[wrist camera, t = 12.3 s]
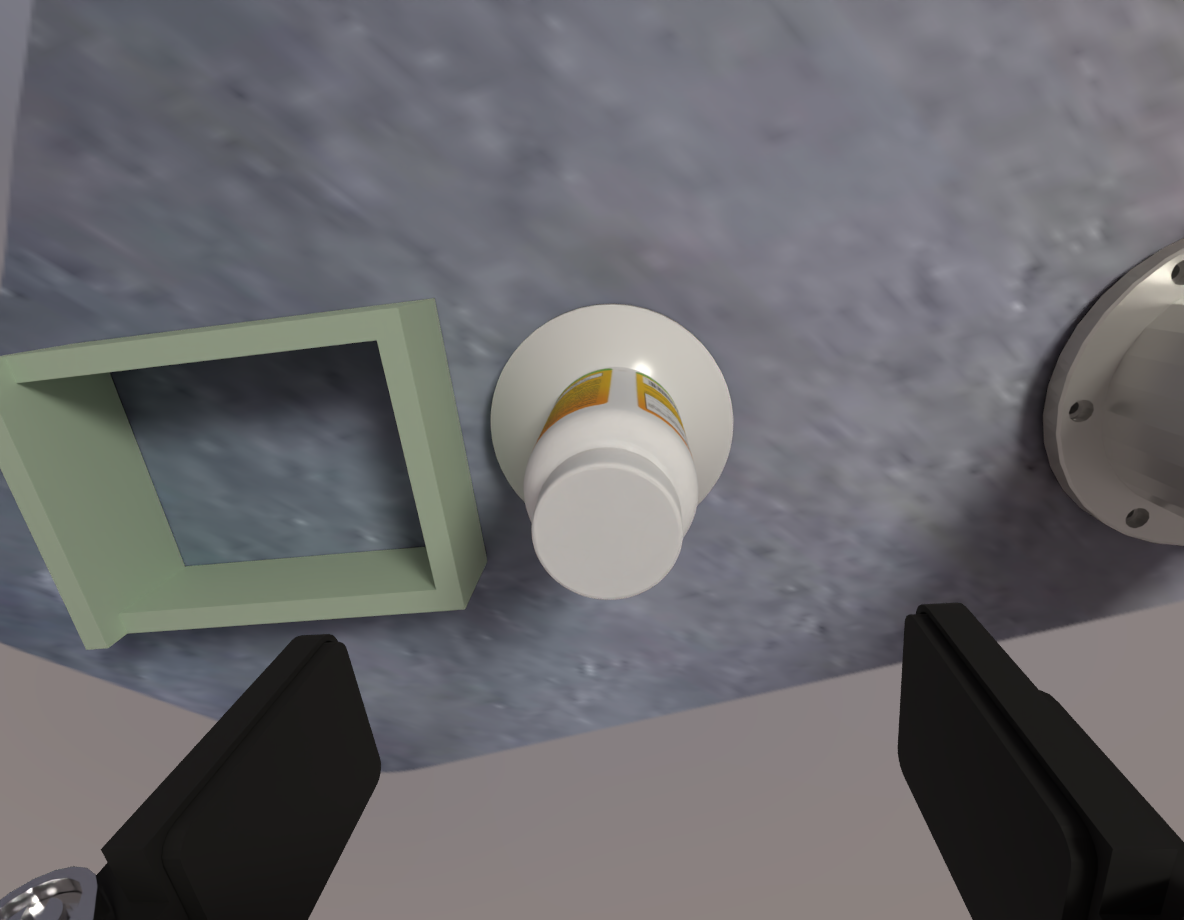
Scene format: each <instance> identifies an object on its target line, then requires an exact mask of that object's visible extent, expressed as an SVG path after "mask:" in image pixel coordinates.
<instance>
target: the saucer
mask: <svg viewBox="0 0 1184 920" xmlns="http://www.w3.org/2000/svg"><path fill="white" fill-rule="evenodd" d="M606 367H625V368H630V369H634V370H637V371H640V372H642V373H645V374H647V375H648V376H650V377H652V378H653V379H655V380H656V381H657V382H658V383H660V384H661V385H662V386H663V387H664V388H665V389H666V391H667V392H668V393H669V394H670V396H671V397H672V399H673V401H674V403H675V405H676V407H677V409H678V412H679V414H680V417H681V421H682V424H683V427H684V430H685V434H686V437H687V441H688V444H689V448H690V451H691V454H692V457H693V461H694V464H695V469H696V473H697V480H698V503H697V505H698V504H699V503H700V502H701V501H702V500H703V499H704V498H705V497H706V496H707V494H708V493H709V492H710V491H711V490H712V488H713V486H714V485H715V483H716V482H717V480H718V478H719V477H720V475H721V473H722V470H723V468H724V466H725V464H726V461H727V458H728V455H729V451H730V448H731V442H732V435H733V411H732V403H731V399H730V395H729V391H728V387H727V385H726V382H725V380H724V377H723V375H722V373H721V371H720V369H719V367H718V366H717V364H716V362H715V361H714V359H713V357H712V356H711V355H710V353H709V352H708V351H707V350H706V348H705V347H704V346H703V345H702V343H701V342H700V341H699V340H698V339H697V338H696V337H695V336H694V335H693V334H691V333H690V332H689V331H688V330H687V329H685V328H684V327H683V326H681V325H680V324H678V323H677V322H676V321H674V320H672V319H670V318H668V317H666V316H664V315H662V314H660V313H657V312H655V311H652V310H649V309H647V308H642V307H638V306H633V305H627V304H615V303H612V304H596V305H591V306H585V307H580V308H578V309H575V310H572V311H569V312H566V313H564V314H562V315H560V316H557V317H555V318H553V319H551V320H550V321H548V322H547V323H545V324H544V325H542V326H541V327H540V328H538V329H537V330H536V331H535V332H533V333H532V334H531V335H530V336H529V337H528V338H527V339H526V340H524V341H523V342H522V344H521V345H520V346H519V347H518V348H517V349H516V351H515V352H514V353H513V354H512V356H511V357H510V359H509V361H508V362H507V364H506V365H505V367H504V369H503V371H502V373H501V375H500V378H499V380H498V382H497V386H496V389H495V392H494V396H493V401H492V408H491V434H492V442H493V446H494V450H495V454H496V457H497V460H498V462H499V465H500V467H501V470H502V472H503V473H504V475H505V477H506V479H507V481H508V482H509V484H510V485H511V487H512V488H513V489H514V491H515V492H516V493H517V495H518V496H519V497H520V498H521V499H522V500H523V501H524V502H525V500H524V476H525V471H526V467H527V464H528V460H529V458H530V455H531V452H532V450H533V448H534V446H535V444H536V442H537V440H538V438H539V436H540V434H541V432H542V430H543V428H544V426H545V424H546V421H547V419H548V417H549V415H550V413H551V411H552V409H553V407H554V405H555V403H556V401H557V399H558V398H559V396H560V395H561V394H562V392H563V391H564V390H565V389H566V388H567V387H568V386H569V385H570V384H571V383H572V382H573V381H574V380H576V379H577V378H579V377H581V376H582V375H584V374H586V373H588V372H591V371H594V370H597V369H601V368H606Z"/></svg>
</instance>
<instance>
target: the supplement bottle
mask: <svg viewBox="0 0 1184 920" xmlns="http://www.w3.org/2000/svg"><path fill="white" fill-rule="evenodd" d="M524 500H525V505H526V509H527V512H528V515H529V518H530V521H531V523H532V526H531V532H532V541H533V545H534V549H535V552H536V555H537V557H538V559H539V561H540V562H541V564H542V566H543V567H544V568H545V570H546V571H547V572H548V573H549V574H550V576H551V577H552V578H554V579H555V580H556V581H557V582H558V583H559V584H561V585H562V586H564V587H565V588H567V589H569V590H571V591H573V592H575V593H577V594H580V595H582V596H586V597H590V598H594V599H603V600H614V599H622V598H627V597H632V596H635V595H638V594H640V593H642V592H644V591H646V590H648V589H650V588H651V587H653V586H654V585H656V584H657V583H659V582H660V581H661V580H662V579H663V578H664V577H665V576H666V575H667V574H668V573H669V571H670V570H671V569H672V567H673V565H674V563H675V562H676V560H677V558H678V555H679V553H680V550H681V546H682V541H683V537H684V536H685V534H686V533H687V531H688V529H689V527H690V525H691V523H692V521H693V518H694V515H695V512H696V508H697V503H698V480H697V473H696V469H695V464H694V461H693V457H692V454H691V451H690V448H689V444H688V441H687V437H686V434H685V430H684V427H683V424H682V421H681V417H680V414H679V412H678V409H677V407H676V405H675V403H674V401H673V399H672V397H671V396H670V394H669V393H668V392H667V391H666V389H665V388H664V387H663V386H662V385H661V384H660V383H658V382H657V381H656V380H655V379H653V378H652V377H650V376H648V375H647V374H645V373H642V372H640V371H637V370H634V369H630V368H625V367H606V368H601V369H597V370H594V371H591V372H588V373H586V374H584V375H582V376H581V377H579V378H577V379H576V380H574V381H573V382H572V383H571V384H570V385H569V386H568V387H567V388H566V389H565V390H564V391H563V392H562V394H561V395H560V396H559V398H558V399H557V401H556V403H555V405H554V407H553V409H552V411H551V413H550V415H549V417H548V419H547V421H546V424H545V426H544V428H543V430H542V432H541V434H540V436H539V438H538V440H537V442H536V444H535V446H534V448H533V450H532V452H531V455H530V458H529V460H528V464H527V467H526V471H525V476H524Z"/></svg>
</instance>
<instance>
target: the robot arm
mask: <svg viewBox="0 0 1184 920" xmlns="http://www.w3.org/2000/svg"><path fill="white" fill-rule="evenodd" d="M1043 432H1044V445H1045V449H1046V452H1047V456H1048V460H1049V464H1050V467H1051V469H1052V471H1053V473H1054V475H1055V476H1056V478H1057V480H1058V482H1059V484H1060V485H1061V487H1062V489H1063V490H1064V491H1065V492H1066V494H1067V495H1068V496H1069V497H1070V498H1071V499H1072V500H1073V501H1074V502H1075V503H1076V504H1077V505H1078V506H1079V507H1080V508H1081V509H1082V510H1084V511H1085V512H1087V513H1089V514H1090V515H1092V516H1093V517H1095V518H1096V519H1098V520H1099V521H1101V522H1102V523H1104V524H1106V525H1108V526H1110V527H1111V528H1113V529H1115V530H1117V531H1119V532H1121V533H1123V534H1125V535H1127V536H1131V537H1134V538H1138V539H1141V540H1145V541H1149V542H1152V543H1157V544H1168V545H1179V546H1184V238H1183V239H1181V240H1179V241H1177V242H1175V243H1173V244H1171V245H1168V246H1166V247H1164V248H1163V249H1161V250H1160V251H1158V252H1157V253H1155V254H1154V255H1152V256H1151V257H1149V258H1148V259H1146V260H1145V261H1143V262H1142V263H1140V264H1139V265H1137V266H1136V267H1134V268H1133V269H1131V270H1130V271H1129V272H1128V273H1126V274H1125V275H1124V276H1123V277H1122V278H1121V279H1120V280H1119V281H1118V282H1116V283H1115V284H1114V285H1113V286H1112V287H1111V288H1110V289H1109V290H1108V291H1106V292H1105V293H1104V294H1103V295H1102V296H1101V297H1100V298H1099V300H1098V301H1097V302H1096V303H1095V304H1094V306H1093V307H1092V308H1091V309H1090V310H1089V312H1088V313H1087V314H1086V315H1085V317H1084V318H1083V319H1082V320H1081V321H1080V323H1079V324H1078V325H1077V327H1076V328H1075V330H1074V332H1073V334H1072V335H1071V337H1070V339H1069V340H1068V342H1067V344H1066V345H1065V347H1064V349H1063V350H1062V352H1061V354H1060V356H1059V358H1058V361H1057V364H1056V366H1055V369H1054V371H1053V374H1052V377H1051V379H1050V382H1049V385H1048V389H1047V395H1046V401H1045V406H1044V412H1043ZM898 757H899V762H900V766H901V770H902V772H903V775H904V777H905V779H906V781H907V784H908V785H909V788H910V790H911V792H912V794H913V796H914V798H915V800H916V802H917V804H918V807H919V809H920V811H921V813H922V815H923V817H924V819H925V821H926V823H927V825H928V827H929V830H930V831H931V834H932V836H933V838H934V840H935V842H936V844H937V846H938V848H939V850H940V853H941V854H942V856H943V859H944V861H945V863H946V865H947V867H948V869H949V871H950V873H951V876H952V878H953V880H954V882H955V884H956V886H957V888H958V890H959V892H960V894H961V896H962V899H963V901H964V903H965V905H966V907H967V909H968V911H969V913H970V915H971V917H972V919H973V920H1184V842H1183V841H1182V840H1181V839H1180V837H1179V836H1178V835H1177V834H1176V833H1175V832H1174V831H1173V830H1172V829H1171V828H1170V827H1169V825H1168V824H1167V823H1166V822H1165V821H1164V820H1163V818H1162V817H1161V816H1160V815H1159V814H1158V813H1157V812H1156V811H1155V810H1154V808H1153V807H1152V806H1151V805H1150V804H1149V803H1148V802H1147V801H1146V800H1145V798H1144V797H1143V796H1142V795H1141V794H1140V793H1139V792H1138V791H1137V790H1136V789H1135V787H1134V786H1133V785H1132V784H1131V783H1130V782H1129V781H1128V779H1127V778H1126V777H1125V776H1124V775H1123V774H1122V773H1121V772H1120V770H1119V769H1118V768H1117V767H1116V766H1115V765H1114V764H1113V763H1112V762H1111V761H1110V759H1109V758H1108V757H1107V756H1106V755H1105V754H1104V753H1103V752H1102V751H1101V749H1100V748H1099V747H1098V746H1097V745H1096V744H1095V743H1094V741H1093V740H1092V739H1091V738H1090V737H1089V736H1088V735H1087V734H1086V733H1085V731H1084V730H1083V729H1082V728H1081V727H1080V726H1079V725H1078V724H1077V723H1076V721H1074V719H1073V718H1072V717H1071V716H1070V715H1069V714H1068V712H1067V711H1066V710H1065V709H1064V708H1063V707H1062V706H1061V705H1060V704H1059V702H1058V701H1056V700H1055V699H1054V698H1053V697H1052V696H1051V695H1050V694H1048V693H1045V692H1043V691H1040V690H1038V689H1037V687H1036V686H1035V685H1034V684H1033V683H1032V682H1031V681H1030V679H1029V678H1028V677H1027V676H1026V675H1025V674H1024V673H1023V672H1022V670H1021V669H1020V668H1019V667H1018V666H1017V665H1016V663H1015V662H1014V661H1013V660H1012V659H1011V658H1010V657H1009V655H1008V654H1007V653H1006V652H1005V651H1004V650H1003V649H1002V647H1001V646H1000V645H999V644H998V643H997V642H996V641H995V639H994V638H993V637H992V636H991V635H990V634H989V633H988V631H987V630H986V629H985V628H984V627H983V626H982V625H981V623H980V622H979V621H978V620H977V619H976V618H975V617H974V615H973V614H972V613H971V612H970V611H969V610H968V609H967V608H966V607H965V606H964V605H963V604H961V603H942V604H922V605H920V606H918V608H917V611H916V614H913V615H908V616H907V617H906V619H905V628H904V646H903V663H902V681H901V699H900V717H899V735H898ZM380 772H381V761H380V757H379V753H378V750H377V747H376V744H375V740H374V737H373V734H372V730H371V727H370V724H369V721H368V717H367V714H366V711H365V707H364V704H363V701H362V698H361V694H360V691H359V688H358V684H357V681H356V678H355V675H354V671H353V668H352V665H351V661H350V658H349V655H348V652H347V649H346V646H345V645H344V644H343V643H341V642H338V641H337V639H336V638H335V637H334V636H333V635H330V634H322V635H302V636H298V637H296V638H294V639H293V640H292V641H291V642H290V643H289V644H288V645H287V646H286V648H285V649H284V650H283V651H282V652H281V653H280V654H279V655H278V656H277V657H276V658H275V660H274V661H273V662H272V663H271V664H270V665H269V666H268V667H267V668H266V669H265V671H264V672H263V673H262V674H261V675H260V676H259V677H258V678H257V679H256V680H255V681H254V683H253V684H252V685H251V686H250V687H249V688H248V689H247V690H246V691H245V692H244V693H243V695H242V696H241V697H240V698H239V699H238V700H237V701H236V702H235V703H234V704H233V705H232V707H231V708H230V709H229V710H228V711H227V712H226V713H225V714H224V715H223V716H222V718H221V719H220V720H219V721H218V722H217V723H216V724H215V725H214V726H213V727H212V728H211V730H210V731H209V732H208V733H207V734H206V735H205V736H204V737H203V738H202V739H201V741H200V742H199V743H198V744H197V745H196V746H195V747H194V748H193V749H192V751H190V753H189V754H188V755H187V756H186V757H185V758H184V759H183V761H181V762H180V763H179V765H178V766H177V767H176V768H175V769H174V770H173V771H172V772H171V773H170V774H169V776H168V777H167V778H166V779H165V780H164V781H163V782H162V783H161V784H160V785H159V786H158V788H157V789H156V790H155V791H154V792H153V793H152V794H151V795H150V796H149V797H148V798H147V800H146V801H145V802H144V803H143V804H142V805H141V806H140V807H139V808H138V809H137V810H136V812H135V813H134V814H133V815H132V816H131V817H130V818H129V819H128V820H127V821H126V822H125V824H124V825H123V826H122V827H121V828H120V829H119V830H118V831H117V832H116V834H115V835H114V836H113V837H112V838H111V839H110V840H109V841H108V842H107V843H106V844H105V846H104V847H103V848H102V849H101V851H102V853H103V854H104V856H105V858H106V860H107V862H108V863H107V864H106V865H105V866H104V867H103V868H102V870H101V871H100V872H99V873H98V874H97V875H95V874H94V873H93V872H92V871H91V870H89V869H88V868H83V867H75V866H73V867H68V868H64V869H58V870H54V871H52V872H50V873H47V874H45V875H42V876H40V877H37V878H35V879H33V880H31V881H29V882H27V883H26V884H24V885H22V886H21V887H19V888H17V889H16V890H14V891H12V892H10V893H9V894H7V895H6V896H5V897H3V898H2V899H1V900H0V920H308V918H309V916H310V914H311V912H312V910H313V909H314V907H315V904H316V903H317V901H318V899H319V897H320V895H321V893H322V891H323V889H324V887H325V885H326V883H327V881H328V879H329V877H330V875H331V873H332V871H333V869H334V867H335V865H336V864H337V862H338V860H339V858H340V856H341V854H342V852H343V850H344V848H345V846H346V844H347V842H348V840H349V838H350V836H351V834H352V832H353V830H354V828H355V826H356V824H357V822H358V821H359V819H360V817H361V815H362V812H363V811H364V809H365V807H366V805H367V803H368V801H369V799H370V797H371V795H372V793H373V791H374V789H375V787H376V785H377V783H378V780H379V777H380Z"/></svg>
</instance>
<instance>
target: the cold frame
mask: <svg viewBox="0 0 1184 920" xmlns="http://www.w3.org/2000/svg"><path fill="white" fill-rule="evenodd" d="M374 340H377V343H378V347H379V352H380V356H381V360H382V364H383V368H384V373H385V377H386V381H387V385H388V389H389V394H390V398H391V402H392V406H393V410H394V415H395V419H396V423H397V427H398V431H399V436H400V440H401V444H402V448H403V452H404V457H405V461H406V465H407V469H408V473H409V478H410V482H411V486H412V490H413V494H414V499H415V503H416V507H417V511H418V516H419V520H420V524H421V528H422V532H423V537H424V541H425V545H426V547H415V548H403V549H391V550H379V551H367V552H355V553H343V554H331V555H319V556H307V557H295V558H282V559H270V560H258V561H246V562H234V563H222V564H210V565H198V566H186V567H185V565H184V563H183V560H182V557H181V555H180V552H179V550H178V547H177V545H176V542H175V539H174V537H173V534H172V532H171V529H170V527H169V524H168V522H167V519H166V516H165V514H164V511H163V509H162V506H161V504H160V501H159V498H158V496H157V493H156V491H155V488H154V486H153V483H152V480H151V478H150V475H149V473H148V470H147V468H146V465H145V462H144V460H143V457H142V455H141V452H140V450H139V447H138V444H137V442H136V439H135V437H134V434H133V432H132V429H131V426H130V424H129V421H128V419H127V416H126V414H125V411H124V408H123V406H122V403H121V401H120V398H119V396H118V393H117V391H116V388H115V385H114V383H113V380H112V378H111V375H110V373H109V372H115V371H123V370H132V369H140V368H148V367H157V366H165V365H173V364H182V363H190V362H199V361H207V360H215V359H224V358H232V357H240V356H249V355H257V354H265V353H274V352H282V351H290V350H299V349H307V348H316V347H324V346H332V345H341V344H349V343H357V342H366V341H374ZM0 469H1V471H2V473H3V475H4V477H5V479H6V481H7V483H8V485H9V488H10V490H11V492H12V494H13V496H14V498H15V500H16V502H17V504H18V507H19V509H20V511H21V513H22V515H23V517H24V519H25V521H26V523H27V525H28V528H29V530H30V532H31V534H32V536H33V538H34V540H35V542H36V544H37V547H38V549H39V551H40V553H41V555H42V557H43V559H44V561H45V563H46V566H47V568H48V570H49V572H50V574H51V576H52V578H53V580H54V582H55V584H56V587H57V589H58V591H59V593H60V595H61V597H62V599H63V601H64V603H65V606H66V608H67V610H68V612H69V614H70V616H71V618H72V620H73V622H74V625H75V627H76V629H77V631H78V633H79V635H80V637H81V639H82V641H83V643H84V646H85V648H86V650H89V649H103V648H109V647H110V646H112V645H113V644H114V643H116V642H117V641H118V640H120V639H121V638H122V637H124V636H125V635H126V634H128V633H142V632H156V631H170V630H184V629H198V628H212V627H226V626H240V625H254V624H268V623H282V622H296V621H310V620H324V619H338V618H352V617H366V616H380V615H394V614H408V613H422V612H436V611H450V610H464V609H465V608H466V606H467V604H468V602H469V600H470V598H471V595H472V593H473V591H474V589H475V587H476V585H477V583H478V580H479V578H480V576H481V574H482V572H483V570H484V567H485V565H486V563H487V556H486V551H485V546H484V541H483V536H482V531H481V526H480V521H479V516H478V511H477V506H476V501H475V497H474V492H473V487H472V482H471V477H470V472H469V467H468V462H467V457H466V452H465V447H464V442H463V437H462V432H461V427H460V422H459V417H458V412H457V407H456V402H455V397H454V393H453V388H452V383H451V378H450V373H449V368H448V363H447V358H446V353H445V348H444V343H443V338H442V333H441V328H440V323H439V318H438V313H437V308H436V303H435V298H433V299H425V300H417V301H409V302H401V303H393V304H385V305H377V306H369V307H361V308H353V309H345V310H337V311H329V312H321V313H313V314H305V315H297V316H289V317H282V318H274V319H266V320H258V321H250V322H242V323H234V324H226V325H218V326H210V327H202V328H194V329H186V330H178V331H170V332H162V333H154V334H146V335H138V336H130V337H122V338H114V339H106V340H98V341H90V342H83V343H75V344H69V345H63V346H57V347H51V348H45V349H39V350H33V351H28V352H22V353H16V354H10V355H4V356H0Z"/></svg>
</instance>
